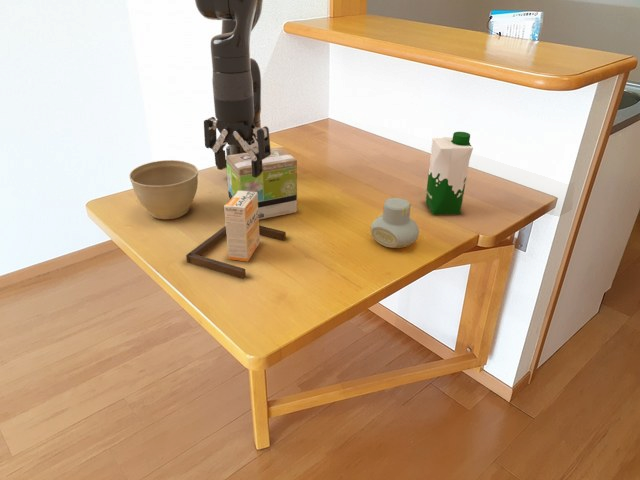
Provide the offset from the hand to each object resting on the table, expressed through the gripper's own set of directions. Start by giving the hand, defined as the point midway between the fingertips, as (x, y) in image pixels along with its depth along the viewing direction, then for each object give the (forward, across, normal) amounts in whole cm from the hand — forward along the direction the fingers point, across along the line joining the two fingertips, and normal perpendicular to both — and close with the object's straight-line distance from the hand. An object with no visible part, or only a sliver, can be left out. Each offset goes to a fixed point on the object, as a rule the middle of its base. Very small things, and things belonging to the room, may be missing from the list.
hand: (238, 172), depth 106 cm
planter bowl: (+19, +27, -7) cm, 34 cm away
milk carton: (+19, -35, -40) cm, 56 cm away
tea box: (+19, +6, -18) cm, 27 cm away
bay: (+18, 0, +1) cm, 19 cm away
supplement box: (+19, -1, +1) cm, 19 cm away
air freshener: (+18, -29, -18) cm, 39 cm away
